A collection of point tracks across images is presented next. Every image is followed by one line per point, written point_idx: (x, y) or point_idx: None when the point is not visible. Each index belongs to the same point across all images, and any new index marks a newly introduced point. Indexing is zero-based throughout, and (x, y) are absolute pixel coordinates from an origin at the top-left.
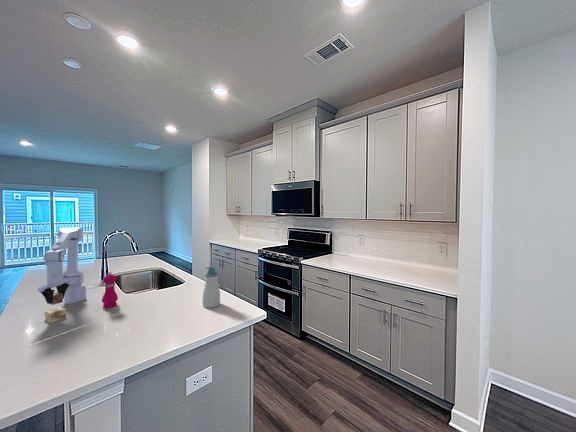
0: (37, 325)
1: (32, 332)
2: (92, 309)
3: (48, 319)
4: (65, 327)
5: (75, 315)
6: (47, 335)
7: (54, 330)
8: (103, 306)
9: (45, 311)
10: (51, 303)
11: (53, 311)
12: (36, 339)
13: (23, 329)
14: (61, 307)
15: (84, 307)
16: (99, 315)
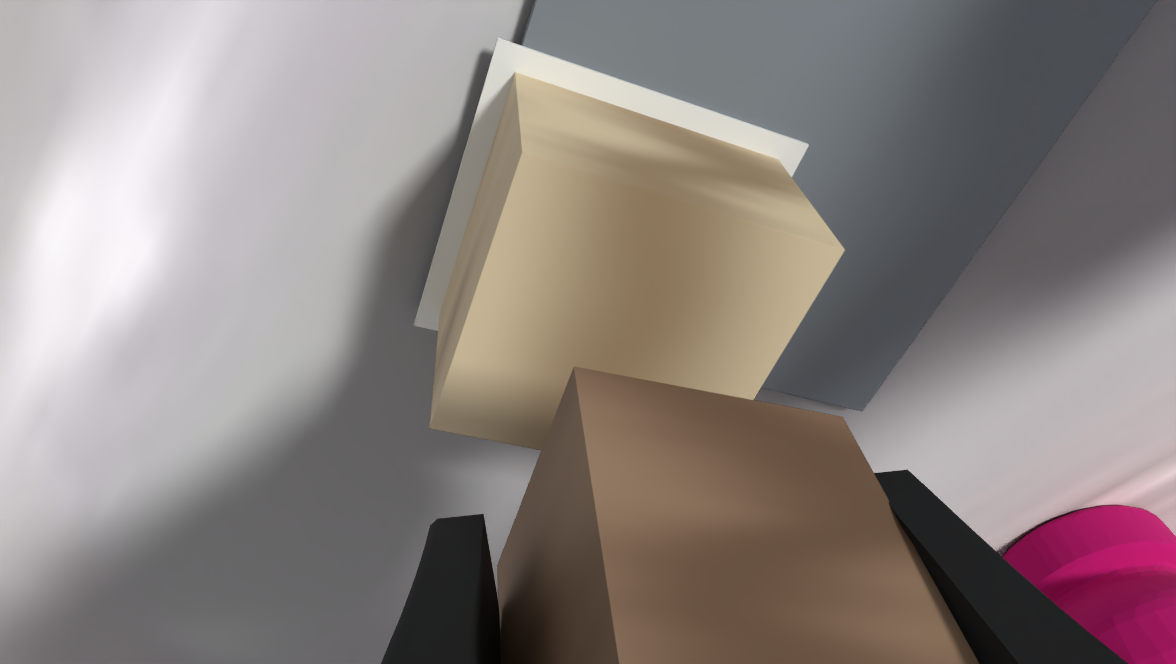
0: (280, 170)
1: (76, 364)
2: (1012, 435)
3: (466, 239)
4: (385, 595)
5: (772, 399)
6: (141, 601)
7: (270, 560)
8: (1034, 570)
9: (513, 181)
10: (511, 560)
11: (550, 369)
12: (8, 587)
13: (38, 78)
14: (802, 313)
15: (1156, 241)
16: None
